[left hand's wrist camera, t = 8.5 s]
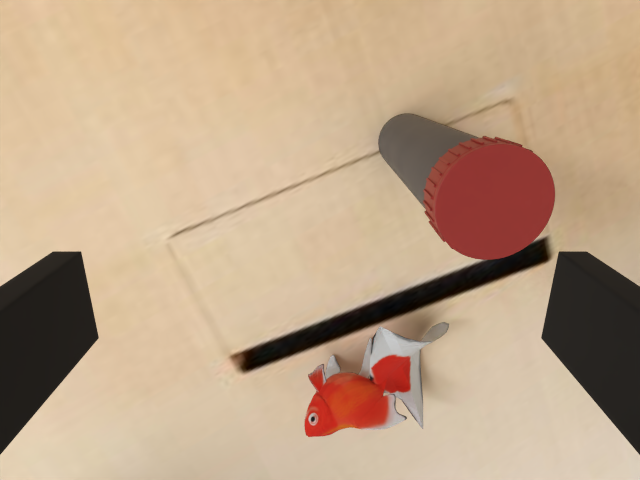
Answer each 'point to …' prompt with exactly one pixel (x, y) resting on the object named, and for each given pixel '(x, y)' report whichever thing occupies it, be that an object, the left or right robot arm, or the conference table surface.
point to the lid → (489, 197)
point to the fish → (370, 386)
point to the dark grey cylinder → (416, 148)
